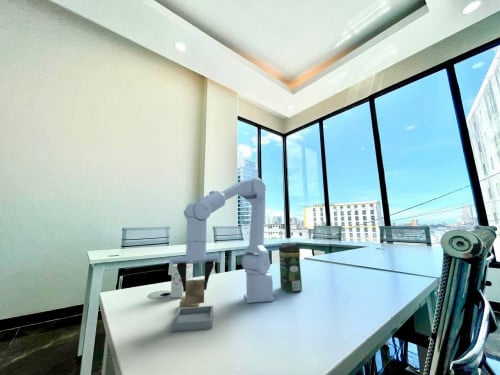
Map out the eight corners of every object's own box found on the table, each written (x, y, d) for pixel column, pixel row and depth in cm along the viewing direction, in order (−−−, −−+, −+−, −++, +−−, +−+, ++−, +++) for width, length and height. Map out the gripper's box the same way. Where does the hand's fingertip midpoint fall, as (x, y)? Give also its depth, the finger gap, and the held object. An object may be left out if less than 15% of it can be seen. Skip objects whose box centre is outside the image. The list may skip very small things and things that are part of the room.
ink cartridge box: (181, 290, 86) (183, 254, 89) (192, 291, 85) (193, 254, 88) (169, 297, 78) (171, 257, 81) (181, 298, 77) (183, 257, 80)
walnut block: (203, 296, 62) (203, 278, 63) (203, 302, 58) (204, 283, 58) (186, 298, 61) (186, 280, 62) (185, 304, 56) (185, 284, 57)
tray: (213, 312, 64) (213, 305, 64) (212, 328, 54) (212, 320, 54) (178, 315, 62) (178, 308, 63) (171, 332, 52) (171, 323, 53)
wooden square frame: (199, 304, 71) (199, 294, 72) (197, 310, 66) (198, 300, 66) (182, 305, 70) (182, 295, 71) (179, 312, 65) (179, 301, 65)
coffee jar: (278, 286, 90) (276, 242, 93) (295, 285, 91) (293, 241, 94) (285, 293, 80) (283, 244, 84) (304, 292, 82) (302, 243, 85)
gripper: (219, 239, 68) (219, 283, 65) (172, 241, 64) (170, 288, 62) (221, 241, 61) (221, 290, 59) (169, 242, 57) (166, 295, 55)
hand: (195, 289), depth 60 cm, fingers closed on walnut block, 5 cm apart
